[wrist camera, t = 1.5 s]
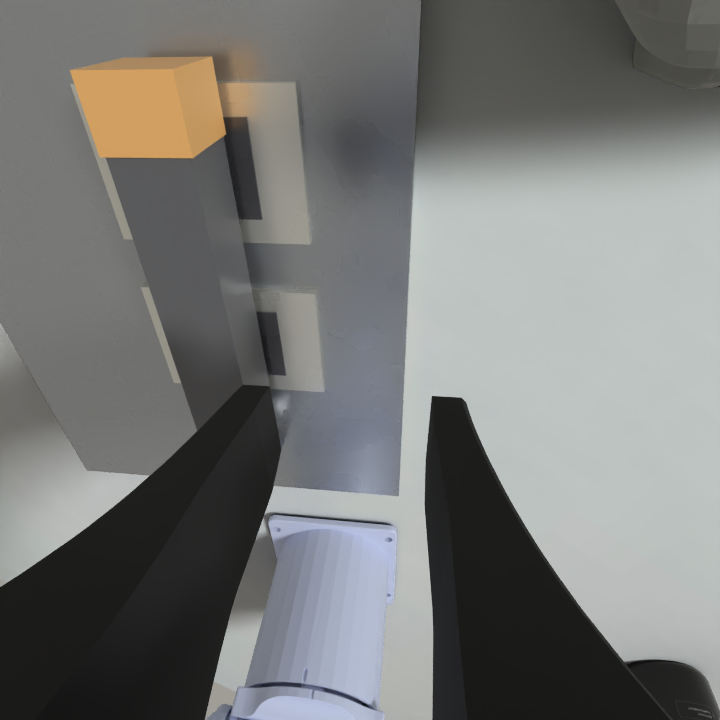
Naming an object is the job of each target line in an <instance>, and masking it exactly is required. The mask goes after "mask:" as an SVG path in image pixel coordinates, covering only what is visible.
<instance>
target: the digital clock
mask: <svg viewBox="0 0 720 720" xmlns="http://www.w3.org/2000/svg"><path fill="white" fill-rule="evenodd" d="M614 1H615V3H616V4H617V6H618V8H619V10H620V12H621V14H622V15H623V17H624V19H625V21H626V22H627V24H628V26H629V28H630V29H631V31H632V33H633V34H634V36H635V37H636V41H635V46H634V53H633V67H634V68H635V69H637V70H640V71H642V72H645V73H647V74H650V75H652V76H654V77H657V78H659V79H662V80H664V81H667V82H669V83H672V84H674V85H677V86H679V87H682V88H686V89H705V88H715V87H720V0H614Z"/></svg>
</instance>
